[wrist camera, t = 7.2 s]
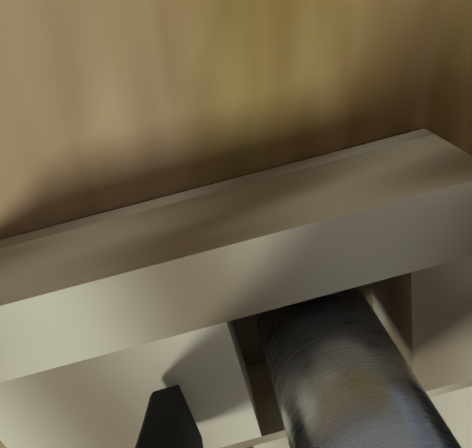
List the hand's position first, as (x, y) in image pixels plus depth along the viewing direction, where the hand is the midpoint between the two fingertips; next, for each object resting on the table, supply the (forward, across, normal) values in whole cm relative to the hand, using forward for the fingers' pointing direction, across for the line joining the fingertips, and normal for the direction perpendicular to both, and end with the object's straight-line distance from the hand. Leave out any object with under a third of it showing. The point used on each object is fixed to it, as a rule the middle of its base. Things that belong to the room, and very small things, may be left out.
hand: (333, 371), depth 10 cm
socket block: (+3, +2, +2) cm, 4 cm away
